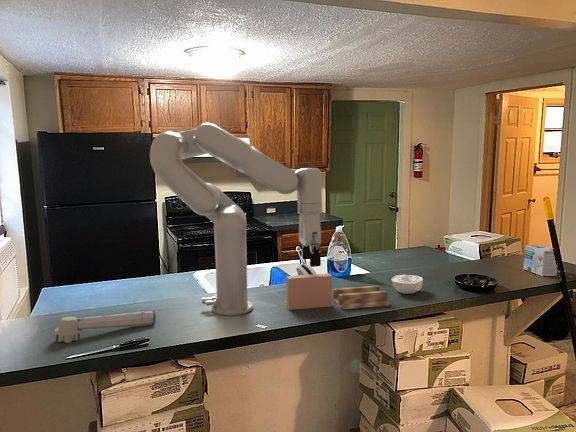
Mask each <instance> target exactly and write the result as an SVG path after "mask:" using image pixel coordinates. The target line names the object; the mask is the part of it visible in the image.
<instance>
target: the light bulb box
mask: <svg viewBox="0 0 576 432" xmlns="http://www.w3.org/2000/svg"><path fill="white" fill-rule="evenodd" d="M524 246H525V248H524V259H523V269H525V270H528V271H530V272H533V273H536V274H538V275H541V276H555V275H556V276H557V274H558V273H557V272H558V264H557V265H556V260H555V257H554V252H553V249H554V248H553V247H549V246H544V245H542V244H531V245H529V244H526V245H524Z"/></svg>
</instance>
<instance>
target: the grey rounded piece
mask: <svg viewBox="0 0 576 432" xmlns="http://www.w3.org/2000/svg"><path fill="white" fill-rule="evenodd" d="M295 270H296V272H297V275H312V274H317V273H316V271H315V270H314V268H312V267H311V266H310V264H308V263H304V264H302V265H299V266H297V267H296V268H295Z"/></svg>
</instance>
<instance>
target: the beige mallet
mask: <svg viewBox="0 0 576 432" xmlns="http://www.w3.org/2000/svg"><path fill="white" fill-rule="evenodd" d="M156 316H157V315H156V312H155V310H148V311H147V310H146V311H145V310H140V311H134V312H133V311H132V312H122V313H115V314H105V315H104V314H103V315H96V316H93V315H92V316H86V317H76V316H64V317H61V319H60V320H59V323H58V324H59V325H58V327H56V328H55V329H54V334H55V341H56V342H58V343H61V342H64V343H65V344H66V343H67V344H68V343H72V342H73V341H78V340H79V339H80V336H81V335H80V334H81V333H82V332H83V330H93V329H111V328H112V329H113V328H128V327H140V328H142V327H143V326H144V327H146V326H153V325H155V324H156V318H157V317H156Z"/></svg>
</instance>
